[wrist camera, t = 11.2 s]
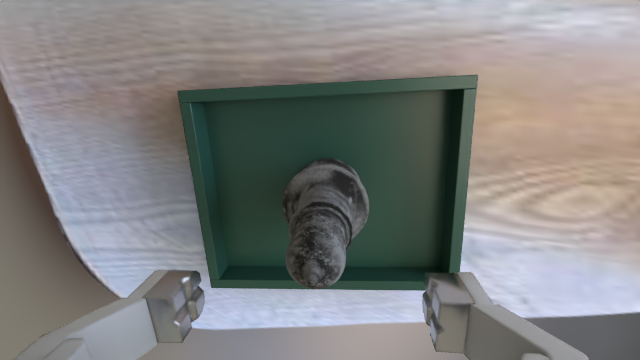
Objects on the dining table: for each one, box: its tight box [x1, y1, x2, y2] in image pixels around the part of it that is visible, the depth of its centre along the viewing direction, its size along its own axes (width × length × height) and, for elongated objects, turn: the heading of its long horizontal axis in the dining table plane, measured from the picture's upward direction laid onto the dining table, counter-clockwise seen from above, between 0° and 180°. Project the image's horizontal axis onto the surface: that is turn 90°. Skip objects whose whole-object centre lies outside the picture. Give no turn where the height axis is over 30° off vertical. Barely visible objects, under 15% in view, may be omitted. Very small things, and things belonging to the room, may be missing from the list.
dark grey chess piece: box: [282, 158, 369, 289], centre depth 18 cm, size 6×6×12 cm
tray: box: [178, 75, 478, 290], centre depth 23 cm, size 16×20×3 cm
